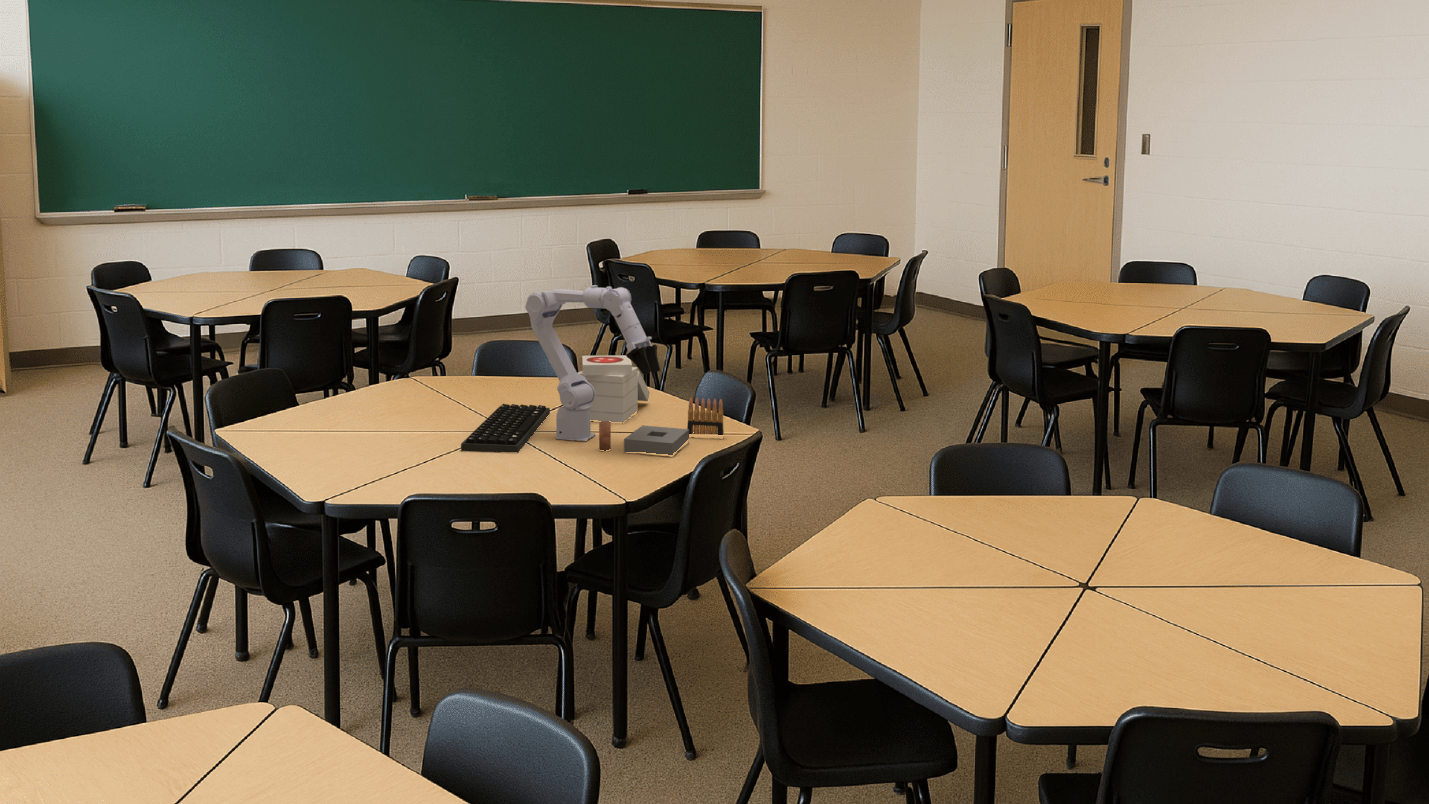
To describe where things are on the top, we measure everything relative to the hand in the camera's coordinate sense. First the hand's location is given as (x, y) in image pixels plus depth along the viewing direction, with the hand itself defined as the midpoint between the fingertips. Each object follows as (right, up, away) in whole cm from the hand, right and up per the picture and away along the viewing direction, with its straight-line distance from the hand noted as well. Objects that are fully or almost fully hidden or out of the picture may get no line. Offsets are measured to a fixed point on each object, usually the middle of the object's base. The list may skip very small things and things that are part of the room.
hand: (652, 372), depth 320 cm
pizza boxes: (-15, -12, +48) cm, 51 cm away
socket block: (+1, -21, +8) cm, 23 cm away
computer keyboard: (-44, -18, +23) cm, 52 cm away
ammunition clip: (+15, -19, +20) cm, 31 cm away
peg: (-13, -22, +5) cm, 26 cm away
